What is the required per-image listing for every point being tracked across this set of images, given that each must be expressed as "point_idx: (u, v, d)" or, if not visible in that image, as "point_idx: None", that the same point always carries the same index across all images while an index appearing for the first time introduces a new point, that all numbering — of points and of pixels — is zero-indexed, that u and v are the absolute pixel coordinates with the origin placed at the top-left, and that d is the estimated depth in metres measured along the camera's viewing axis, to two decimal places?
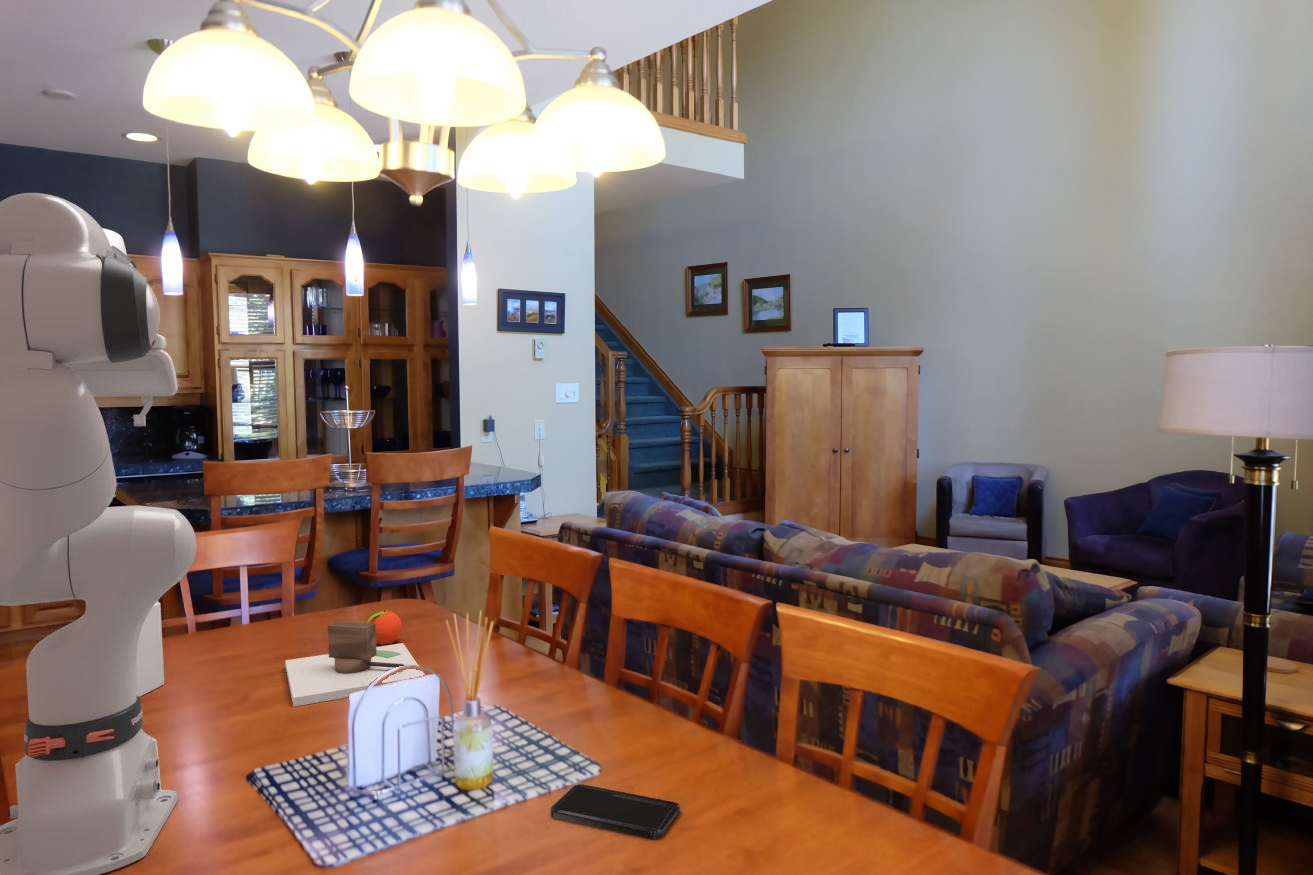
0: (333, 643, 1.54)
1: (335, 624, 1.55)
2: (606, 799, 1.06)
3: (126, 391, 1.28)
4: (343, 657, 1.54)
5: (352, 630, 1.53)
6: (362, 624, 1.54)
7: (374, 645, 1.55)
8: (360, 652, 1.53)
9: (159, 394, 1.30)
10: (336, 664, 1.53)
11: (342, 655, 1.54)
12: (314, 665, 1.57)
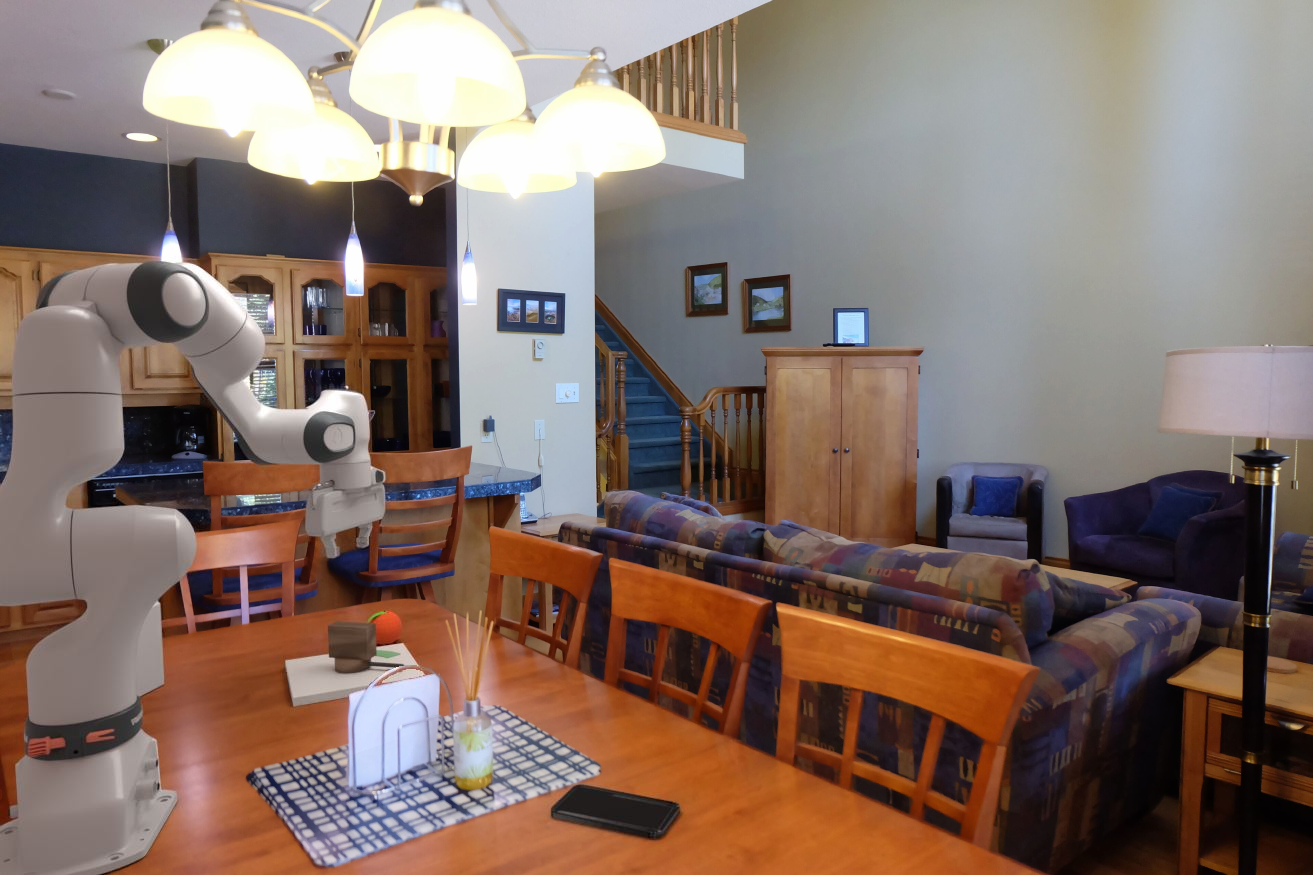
0: (333, 643, 1.54)
1: (335, 624, 1.55)
2: (606, 799, 1.06)
3: (366, 520, 1.56)
4: (343, 657, 1.54)
5: (352, 630, 1.53)
6: (362, 624, 1.54)
7: (374, 645, 1.55)
8: (360, 652, 1.53)
9: (378, 518, 1.60)
10: (336, 664, 1.53)
11: (342, 655, 1.54)
12: (314, 665, 1.57)
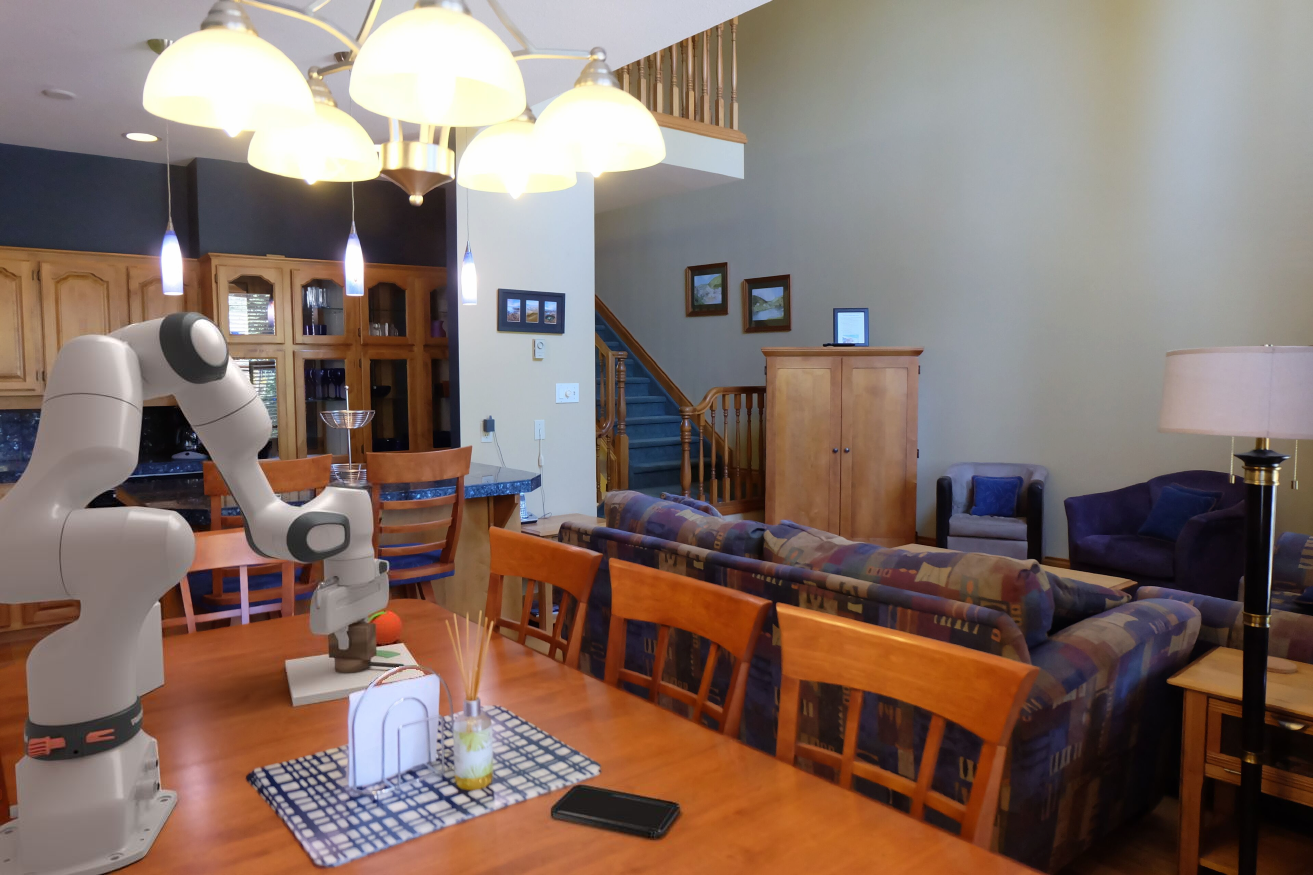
0: (333, 643, 1.54)
1: None
2: (606, 799, 1.06)
3: (370, 611, 1.57)
4: (343, 657, 1.54)
5: (352, 630, 1.53)
6: (362, 624, 1.54)
7: (374, 645, 1.55)
8: (360, 652, 1.53)
9: (382, 607, 1.61)
10: (336, 664, 1.53)
11: (342, 655, 1.54)
12: (314, 665, 1.57)
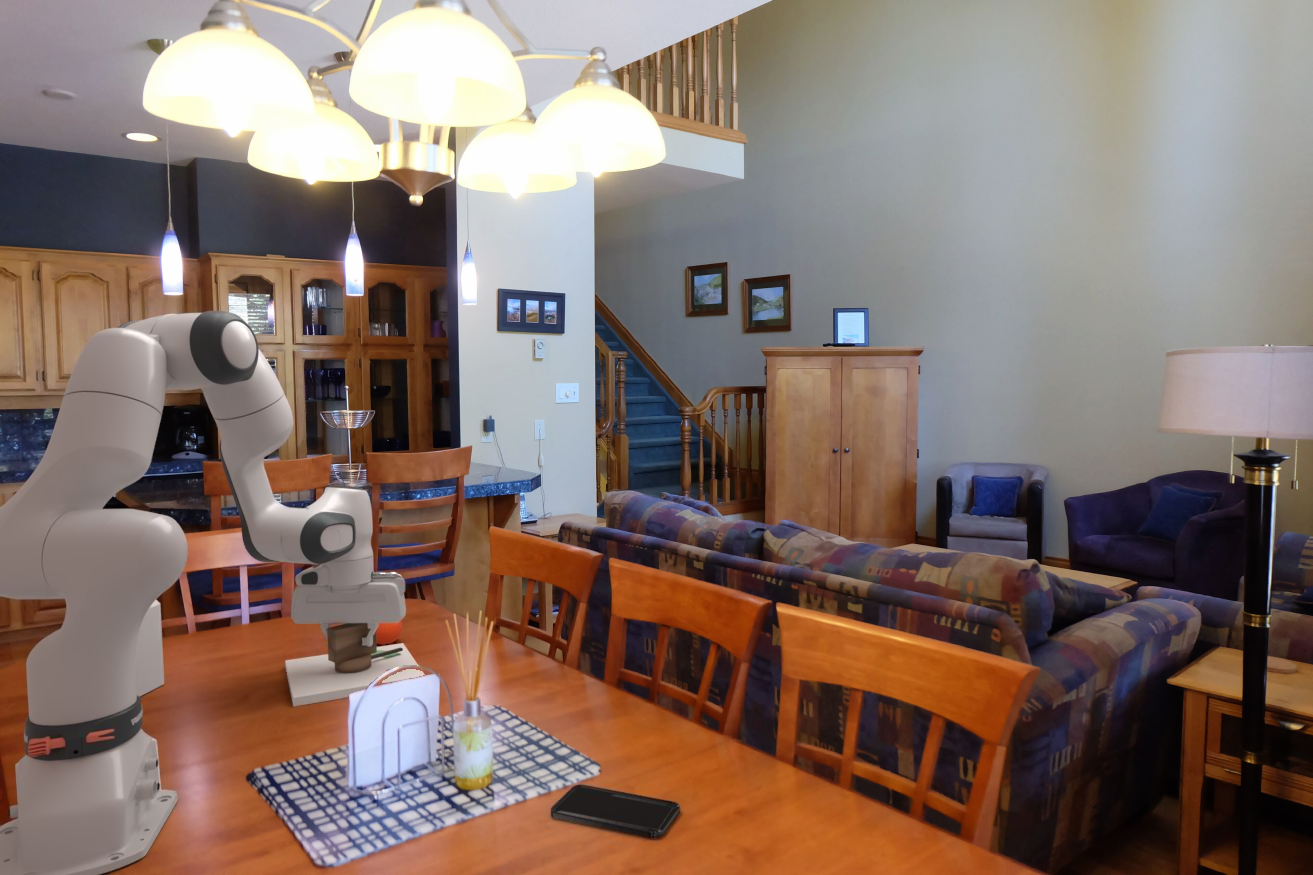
0: (341, 647, 1.51)
1: (337, 628, 1.52)
2: (606, 799, 1.06)
3: None
4: (352, 658, 1.53)
5: (361, 627, 1.54)
6: None
7: None
8: (369, 647, 1.56)
9: None
10: (352, 665, 1.52)
11: (351, 656, 1.53)
12: (314, 665, 1.57)
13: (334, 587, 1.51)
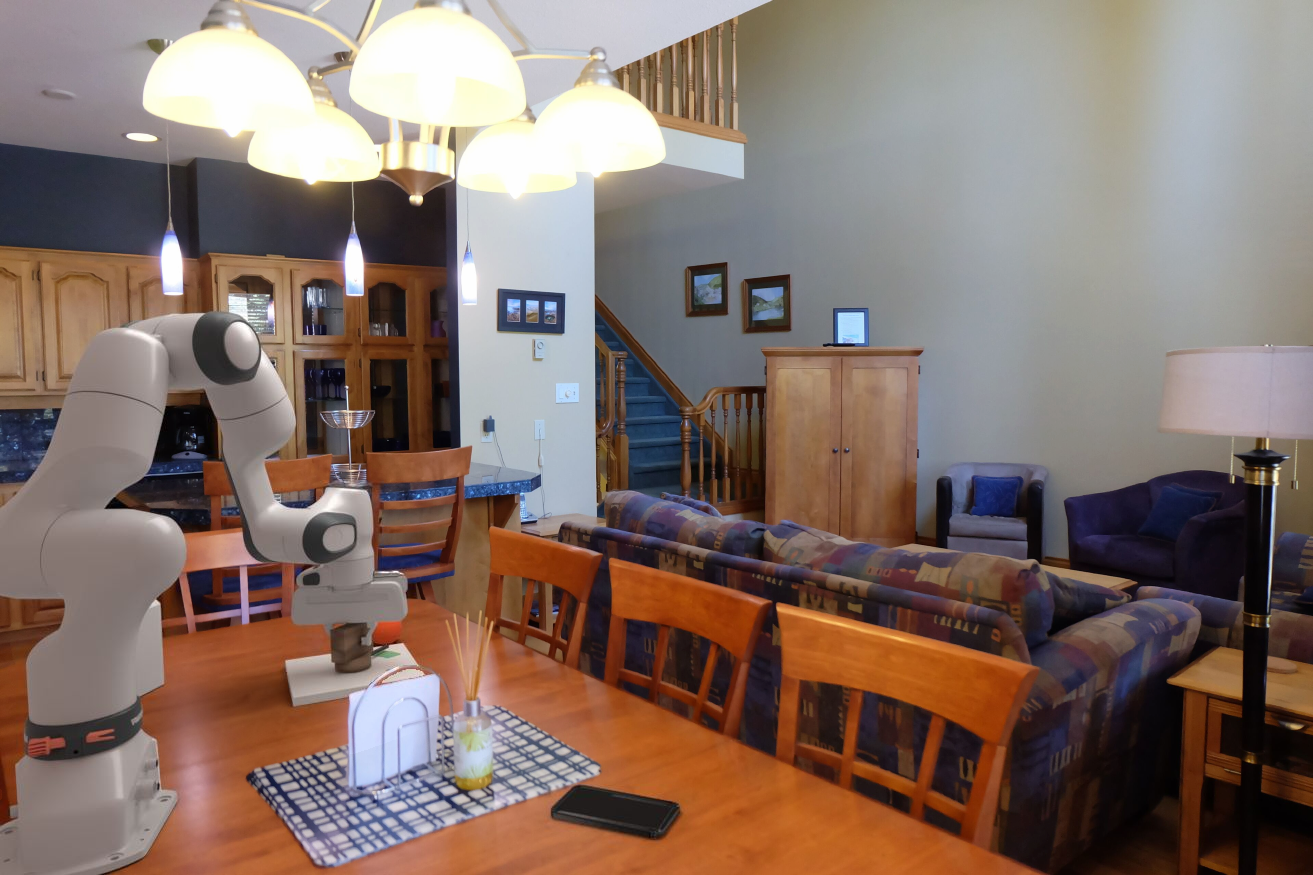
0: (348, 647, 1.51)
1: (342, 629, 1.51)
2: (606, 799, 1.06)
3: None
4: (356, 657, 1.53)
5: (362, 626, 1.55)
6: None
7: None
8: None
9: None
10: (359, 664, 1.52)
11: (355, 655, 1.53)
12: (314, 665, 1.57)
13: (336, 587, 1.51)
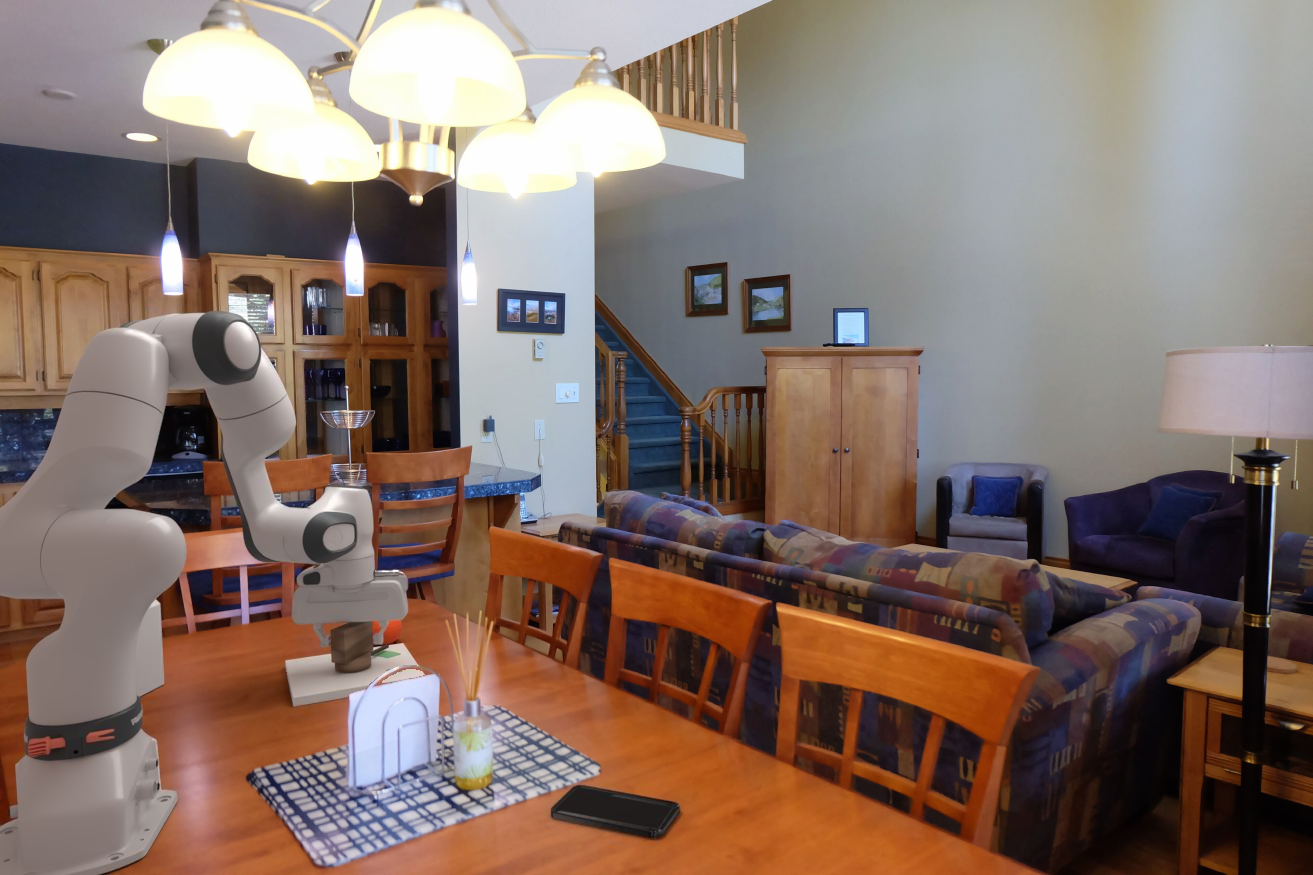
0: (348, 647, 1.51)
1: (342, 629, 1.51)
2: (606, 799, 1.06)
3: None
4: (356, 657, 1.53)
5: (362, 626, 1.55)
6: None
7: None
8: (368, 645, 1.57)
9: None
10: (359, 664, 1.52)
11: (355, 655, 1.53)
12: (314, 665, 1.57)
13: (337, 586, 1.51)
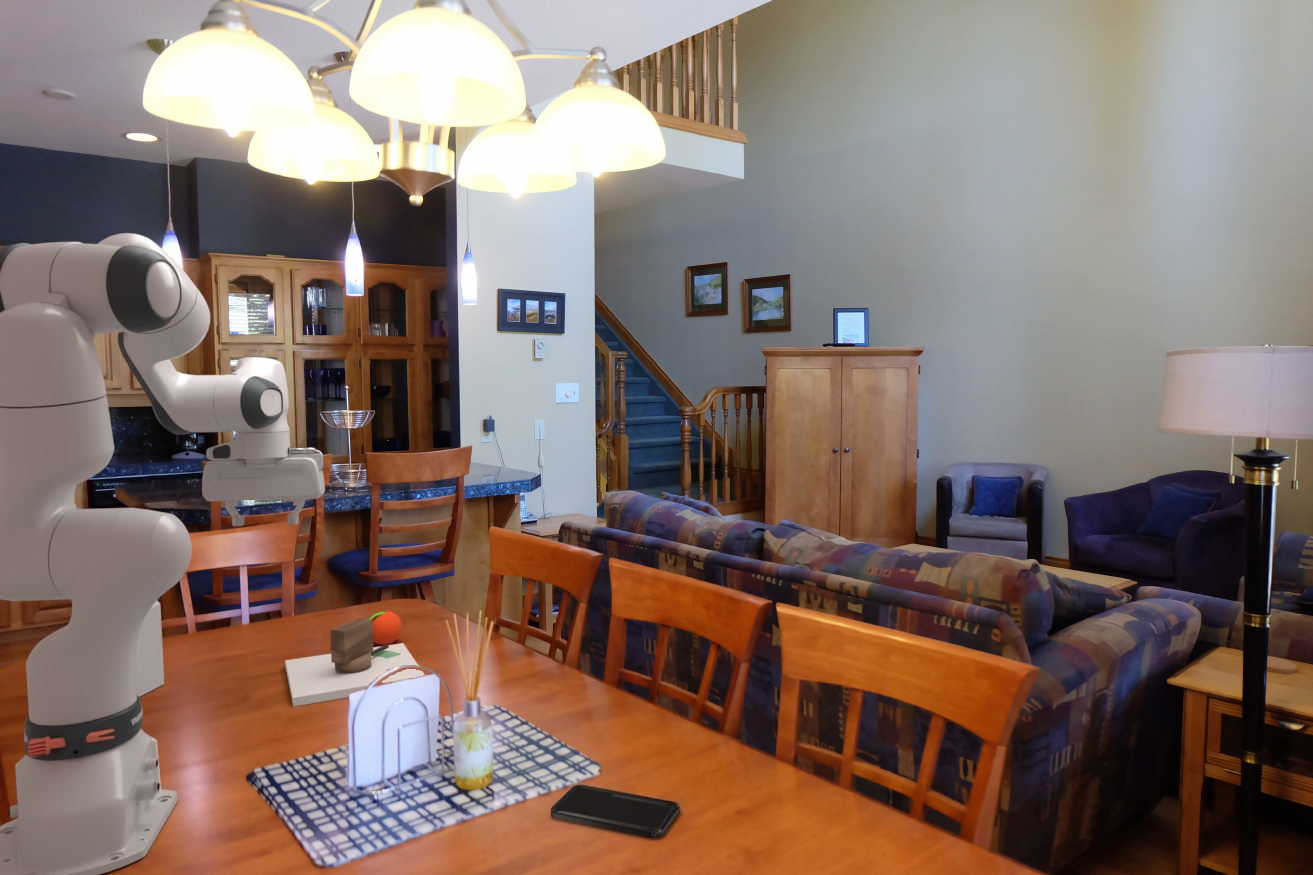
0: (348, 647, 1.51)
1: (342, 629, 1.51)
2: (606, 799, 1.06)
3: None
4: (356, 657, 1.53)
5: (362, 626, 1.55)
6: (356, 621, 1.56)
7: None
8: (368, 645, 1.57)
9: None
10: (359, 664, 1.52)
11: (355, 655, 1.53)
12: (314, 665, 1.57)
13: (248, 461, 1.46)
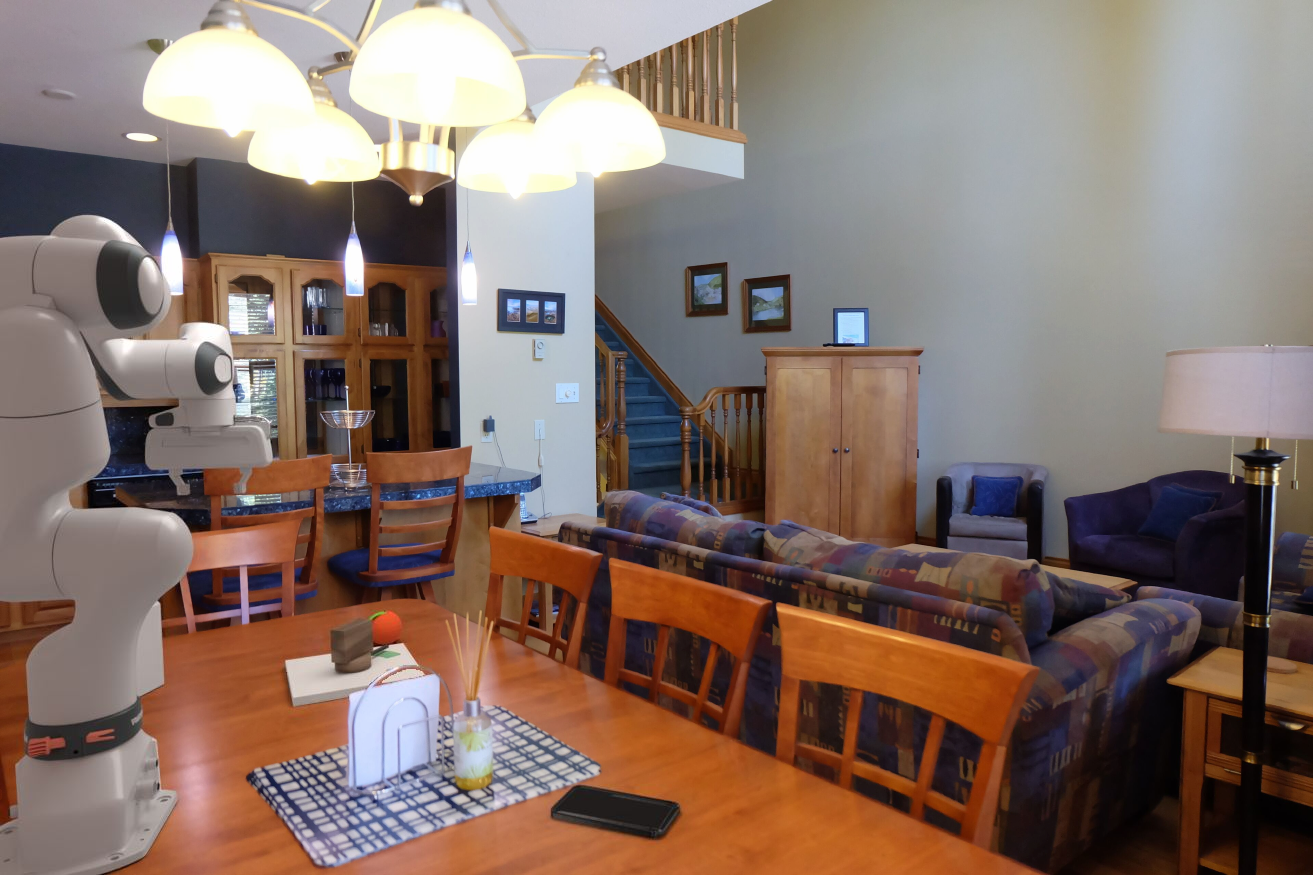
0: (348, 647, 1.51)
1: (342, 629, 1.51)
2: (606, 799, 1.06)
3: None
4: (356, 657, 1.53)
5: (362, 626, 1.55)
6: (356, 621, 1.56)
7: None
8: (368, 645, 1.57)
9: None
10: (359, 664, 1.52)
11: (355, 655, 1.53)
12: (314, 665, 1.57)
13: (192, 429, 1.44)
